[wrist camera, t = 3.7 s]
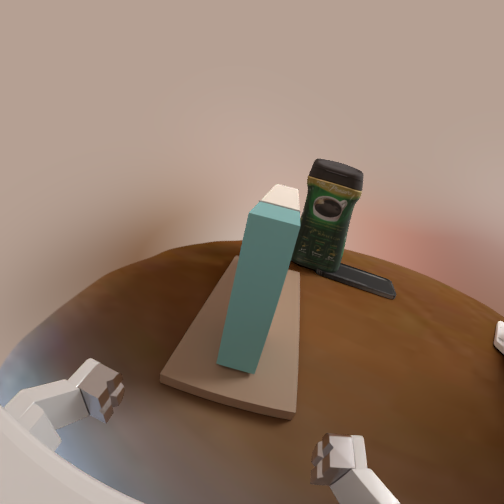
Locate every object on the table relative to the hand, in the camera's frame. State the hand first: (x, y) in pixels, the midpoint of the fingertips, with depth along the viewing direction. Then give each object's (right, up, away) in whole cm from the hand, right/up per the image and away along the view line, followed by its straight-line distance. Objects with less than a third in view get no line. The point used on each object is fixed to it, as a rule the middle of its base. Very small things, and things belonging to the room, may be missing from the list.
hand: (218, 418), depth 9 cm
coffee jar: (+12, +4, +40) cm, 42 cm away
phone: (+20, +1, +38) cm, 43 cm away
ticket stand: (+1, -1, +21) cm, 21 cm away
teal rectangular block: (0, -2, +13) cm, 13 cm away
